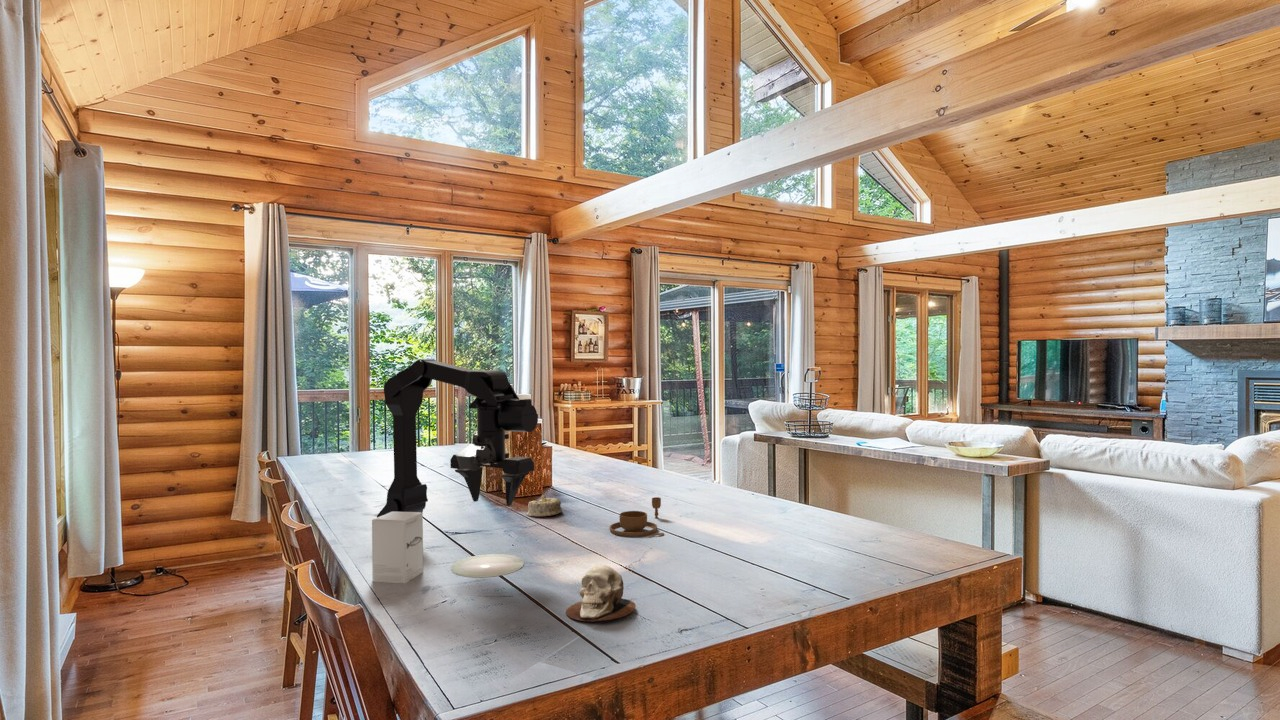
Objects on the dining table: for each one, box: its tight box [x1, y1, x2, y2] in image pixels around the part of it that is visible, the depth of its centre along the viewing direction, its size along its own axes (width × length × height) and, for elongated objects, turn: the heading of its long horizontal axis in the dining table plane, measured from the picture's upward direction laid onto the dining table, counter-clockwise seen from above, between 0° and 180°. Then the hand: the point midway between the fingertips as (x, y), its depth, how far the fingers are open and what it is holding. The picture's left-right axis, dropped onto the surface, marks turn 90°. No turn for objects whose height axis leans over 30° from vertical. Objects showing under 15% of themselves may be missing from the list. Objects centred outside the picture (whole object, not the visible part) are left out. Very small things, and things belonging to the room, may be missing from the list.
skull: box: [565, 564, 636, 623], centre depth 121 cm, size 12×10×10 cm
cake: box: [525, 494, 563, 517], centre depth 195 cm, size 10×10×5 cm
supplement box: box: [371, 512, 424, 584], centre depth 141 cm, size 7×7×13 cm
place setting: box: [609, 497, 665, 539], centre depth 178 cm, size 18×20×6 cm
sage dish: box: [450, 553, 525, 578], centre depth 148 cm, size 15×15×1 cm
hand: (492, 503), depth 149 cm, fingers open, 9 cm apart
